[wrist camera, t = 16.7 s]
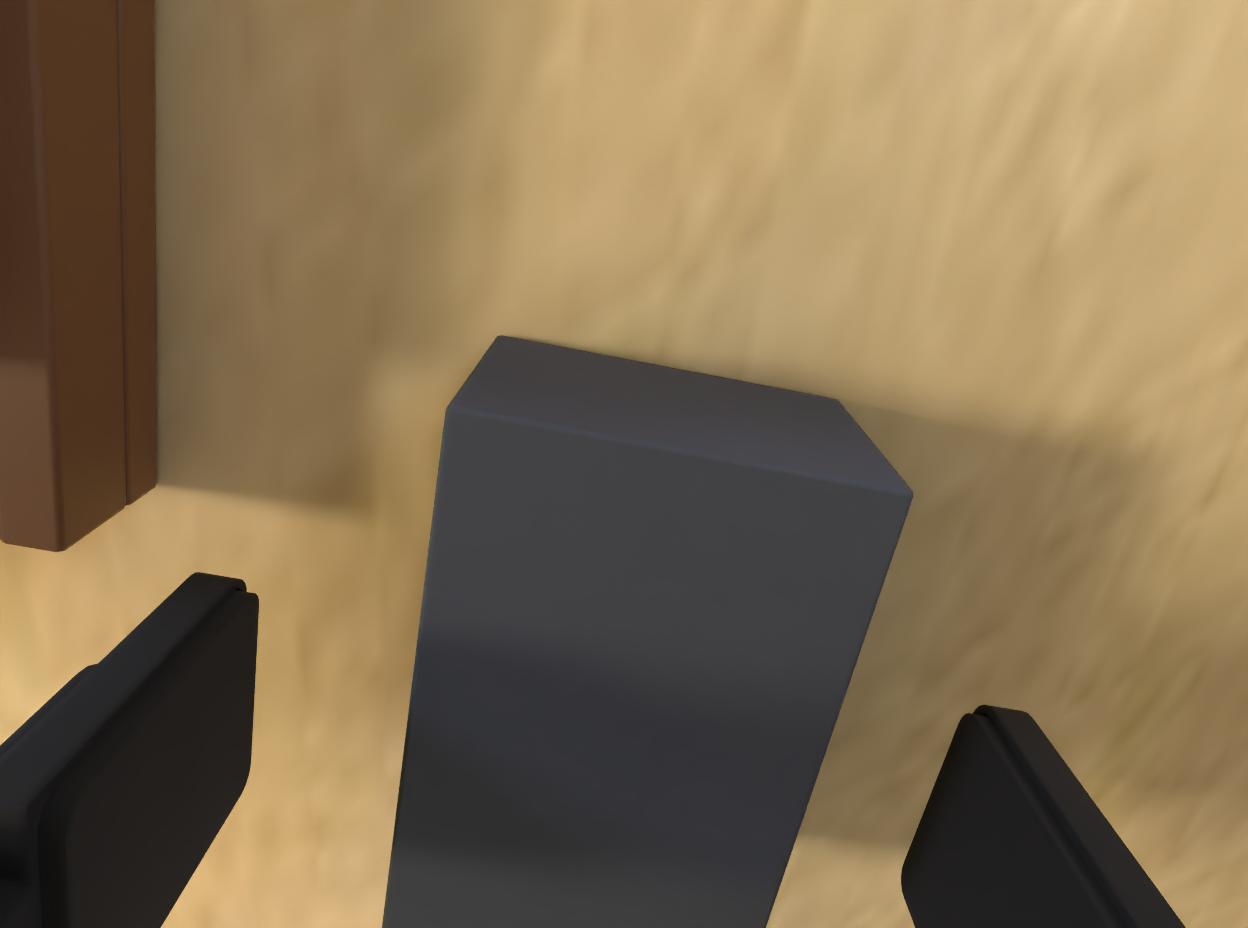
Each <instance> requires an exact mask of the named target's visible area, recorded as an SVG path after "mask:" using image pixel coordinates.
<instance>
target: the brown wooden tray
mask: <svg viewBox="0 0 1248 928" xmlns="http://www.w3.org/2000/svg"><path fill="white" fill-rule="evenodd" d="M156 483H157V457H156V253H155V48H154V0H0V539H1V540H2V542H4V543H6V544H12V545H18V546H24V547H30V548H36V549H41V550H47V551H53V552H60V551H65V550H66V549H67V548H69V547H70V546H72V545H73V544H74V543H76V542H77V541H79V540H80V539H82V538H83V537H84V536H86V535H87V534H89V533H90V532H91V531H93V530H94V529H96V528H97V527H98V526H100V525H101V524H103V523H104V522H105V521H107V520H108V519H110V518H111V517H112V516H114V515H115V514H117V513H118V512H119V511H121V510H122V509H124V507H125V505H130V504H132V503H133V502H135V501H136V500H137V499H139V498H140V497H142V496H143V495H144V494H146V493H147V492H149V491H150V490H151V489H153V488H154V487H155V486H156Z"/></svg>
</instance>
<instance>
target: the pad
mask: <svg viewBox="0 0 1248 928" xmlns="http://www.w3.org/2000/svg"><path fill="white" fill-rule="evenodd" d="M912 499H913V491H912V490H911V489H910V487H909V486H908V485H907V484H906V482H905V481H904V480H903V479H902V478H901V476H900V475H899V474H898V473H897V471H896V470H895V469H894V468H893V466H892V465H891V464H890V463H889V462H888V460H887V459H886V458H885V457H884V455H883V454H882V453H881V452H880V451H879V449H878V448H877V447H876V446H875V444H874V443H873V442H872V441H871V440H870V438H869V437H868V436H867V435H866V433H865V432H864V431H863V430H862V428H861V427H860V426H859V425H858V424H857V422H856V421H855V420H854V419H853V417H852V416H851V415H850V414H849V413H848V411H847V410H846V409H845V408H844V406H843V405H842V404H841V403H840V402H839V401H838V400H836V399H831V398H826V397H820V396H815V395H810V394H805V393H799V392H794V391H789V390H784V389H779V388H773V387H768V386H763V385H758V384H752V383H747V382H742V381H737V380H732V379H726V378H721V377H716V376H711V375H705V374H700V373H695V372H690V371H684V370H679V369H674V368H669V367H664V366H658V365H653V364H648V363H643V362H637V361H632V360H627V359H622V358H616V357H611V356H606V355H601V354H596V353H590V352H585V351H580V350H575V349H569V348H564V347H559V346H554V345H549V344H543V343H538V342H533V341H528V340H522V339H517V338H512V337H507V336H497V338H496V339H495V340H494V342H493V343H492V345H491V346H490V347H489V349H488V350H487V352H486V353H485V354H484V356H483V357H482V359H481V360H480V361H479V363H478V364H477V366H476V367H475V369H474V370H473V371H472V373H471V374H470V376H469V377H468V378H467V380H466V381H465V383H464V384H463V385H462V387H461V388H460V390H459V391H458V392H457V394H456V395H455V397H454V398H453V400H452V401H451V402H450V404H449V405H448V407H447V408H446V412H445V420H444V428H443V436H442V445H441V453H440V461H439V469H438V477H437V485H436V493H435V502H434V510H433V518H432V526H431V534H430V542H429V550H428V558H427V567H426V575H425V583H424V591H423V599H422V607H421V615H420V624H419V632H418V640H417V648H416V656H415V664H414V672H413V681H412V689H411V697H410V705H409V713H408V721H407V729H406V737H405V746H404V754H403V762H402V770H401V778H400V786H399V794H398V803H397V811H396V819H395V827H394V835H393V843H392V851H391V860H390V868H389V876H388V884H387V892H386V900H385V908H384V916H383V925H382V928H766V925H767V922H768V919H769V916H770V913H771V910H772V907H773V905H774V902H775V899H776V896H777V893H778V890H779V887H780V884H781V881H782V878H783V875H784V872H785V869H786V867H787V864H788V861H789V858H790V855H791V852H792V849H793V846H794V843H795V840H796V837H797V834H798V832H799V829H800V826H801V823H802V820H803V817H804V814H805V811H806V808H807V805H808V802H809V799H810V796H811V794H812V791H813V788H814V785H815V782H816V779H817V776H818V773H819V770H820V767H821V764H822V761H823V759H824V756H825V753H826V750H827V747H828V744H829V741H830V738H831V735H832V732H833V729H834V726H835V723H836V721H837V718H838V715H839V712H840V709H841V706H842V703H843V700H844V697H845V694H846V691H847V688H848V685H849V683H850V680H851V677H852V674H853V671H854V668H855V665H856V662H857V659H858V656H859V653H860V650H861V648H862V645H863V642H864V639H865V636H866V633H867V630H868V627H869V624H870V621H871V618H872V615H873V612H874V610H875V607H876V604H877V601H878V598H879V595H880V592H881V589H882V586H883V583H884V580H885V577H886V574H887V572H888V569H889V566H890V563H891V560H892V557H893V554H894V551H895V548H896V545H897V542H898V539H899V537H900V534H901V531H902V528H903V525H904V522H905V519H906V516H907V513H908V510H909V507H910V504H911V501H912Z"/></svg>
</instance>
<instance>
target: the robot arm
mask: <svg viewBox="0 0 1248 928" xmlns="http://www.w3.org/2000/svg"><path fill="white" fill-rule="evenodd" d="M258 615H259V599H258V596H257V595H256V594H255V593H249V592H247V589H246V585H245V582H244V581H243V580H241V579H236V578H230V577H224V576H218V575H212V574H206V573H200V572H197V573H194V574H192V575H191V576H190V577H188V578H187V579H186V580H185V581H184V582H183V583H182V584H181V585H180V586H179V587H178V588H177V589H176V590H175V591H174V592H173V593H172V594H171V595H170V596H169V597H168V598H166V599H165V600H164V601H163V602H162V603H161V604H160V605H159V606H158V607H157V608H156V609H155V610H154V611H153V612H152V613H151V614H150V615H149V616H148V617H147V618H146V619H144V620H143V621H142V622H141V623H140V624H139V625H138V626H137V627H136V628H135V629H134V630H133V631H132V632H131V633H130V634H129V635H128V636H127V637H126V638H125V639H124V640H122V641H121V642H120V643H119V644H118V645H117V646H116V647H115V648H114V649H113V650H112V651H111V652H110V653H109V654H108V655H107V656H106V657H105V658H104V659H103V660H102V661H100V662H99V663H98V664H95V665H90V666H87V667H86V668H84V669H83V670H82V671H80V672H79V673H77V674H76V675H75V676H74V677H73V678H72V679H71V680H70V681H69V682H68V683H67V684H66V685H65V686H64V687H63V688H61V689H60V690H59V691H58V692H57V693H56V694H55V695H54V696H53V697H52V698H51V699H50V700H49V701H48V702H46V703H45V704H44V705H43V706H42V707H41V708H40V709H39V710H38V711H37V712H36V713H35V714H34V715H33V716H32V717H30V718H29V719H28V720H27V721H26V722H25V723H24V724H23V725H22V726H21V727H20V728H19V729H18V730H17V731H16V732H14V733H13V734H12V735H11V736H10V737H9V738H8V739H7V740H6V741H5V742H4V743H3V744H2V745H1V746H0V928H161V926H162V924H163V923H164V921H165V919H166V918H167V916H168V914H169V913H170V911H171V909H172V908H173V906H174V904H175V903H176V901H177V900H178V898H179V896H180V895H181V893H182V891H183V890H184V888H185V886H186V885H187V883H188V881H189V880H190V878H191V876H192V875H193V873H194V872H195V870H196V868H197V867H198V865H199V863H200V862H201V860H202V858H203V857H204V855H205V853H206V852H207V850H208V848H209V847H210V845H211V843H212V842H213V840H214V839H215V837H216V835H217V834H218V832H219V830H220V829H221V827H222V825H223V824H224V822H225V820H226V819H227V817H228V815H229V814H230V812H231V810H232V809H233V807H234V806H235V804H236V802H237V801H238V799H239V797H240V796H241V794H242V792H243V790H244V787H245V785H246V782H247V779H248V776H249V771H250V766H251V751H252V732H253V712H254V693H255V673H256V654H257V634H258ZM901 885H902V892H903V895H904V899H905V901H906V904H907V907H908V909H909V912H910V914H911V917H912V920H913V922H914V925H915V928H1186V927H1185V926H1184V925H1183V923H1182V922H1181V921H1180V919H1179V918H1178V916H1177V915H1176V914H1175V912H1174V911H1173V910H1172V908H1171V907H1170V906H1169V904H1168V903H1167V901H1166V900H1165V899H1164V897H1163V896H1162V895H1161V893H1160V892H1159V890H1158V889H1157V888H1156V886H1155V885H1154V884H1153V882H1152V881H1151V879H1150V878H1149V877H1148V875H1147V874H1146V873H1145V871H1144V870H1143V869H1142V867H1141V866H1140V864H1139V863H1138V862H1137V860H1136V859H1135V858H1134V856H1133V855H1132V853H1131V852H1130V851H1129V849H1128V848H1127V847H1126V845H1125V844H1124V842H1123V841H1122V840H1121V838H1120V837H1119V836H1118V834H1117V833H1116V832H1115V830H1114V829H1113V827H1112V826H1111V825H1110V823H1109V822H1108V821H1107V819H1106V818H1105V816H1104V815H1103V814H1102V812H1101V811H1100V810H1099V808H1098V807H1097V806H1096V804H1095V803H1094V801H1093V800H1092V799H1091V797H1090V796H1089V795H1088V793H1087V792H1086V790H1085V789H1084V788H1083V786H1082V785H1081V784H1080V782H1079V781H1078V779H1077V778H1076V777H1075V775H1074V774H1073V773H1072V771H1071V770H1070V769H1069V767H1068V766H1067V764H1066V763H1065V762H1064V760H1063V759H1062V758H1061V756H1060V755H1059V753H1058V752H1057V751H1056V749H1055V748H1054V747H1053V745H1052V744H1051V742H1050V741H1049V740H1048V738H1047V737H1046V736H1045V734H1044V733H1043V732H1042V730H1041V729H1040V727H1039V726H1038V725H1037V723H1036V722H1035V721H1034V719H1033V718H1032V717H1031V716H1030V715H1029V714H1028V713H1026V712H1023V711H1019V710H1013V709H1007V708H1001V707H995V706H989V705H981V706H979V707H978V708H977V709H976V710H975V711H974V712H973V714H971V713H968V714H965V715H964V716H963V717H962V718H961V720H960V722H959V724H958V727H957V729H956V732H955V734H954V737H953V739H952V742H951V744H950V747H949V749H948V752H947V754H946V757H945V760H944V762H943V765H942V767H941V770H940V772H939V775H938V777H937V780H936V782H935V785H934V787H933V790H932V793H931V795H930V798H929V800H928V803H927V805H926V808H925V810H924V813H923V815H922V818H921V820H920V823H919V826H918V828H917V831H916V833H915V836H914V838H913V841H912V843H911V846H910V848H909V851H908V853H907V856H906V859H905V861H904V864H903V867H902V874H901Z"/></svg>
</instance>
